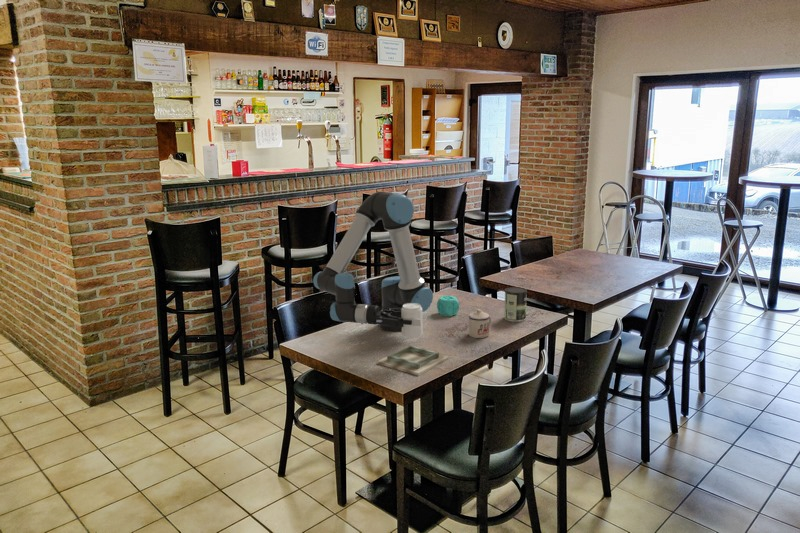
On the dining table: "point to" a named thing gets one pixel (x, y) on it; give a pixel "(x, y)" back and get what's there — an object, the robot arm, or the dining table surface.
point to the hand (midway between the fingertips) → (423, 319)
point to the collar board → (413, 360)
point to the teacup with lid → (479, 324)
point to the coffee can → (515, 304)
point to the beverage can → (412, 312)
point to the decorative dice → (448, 305)
